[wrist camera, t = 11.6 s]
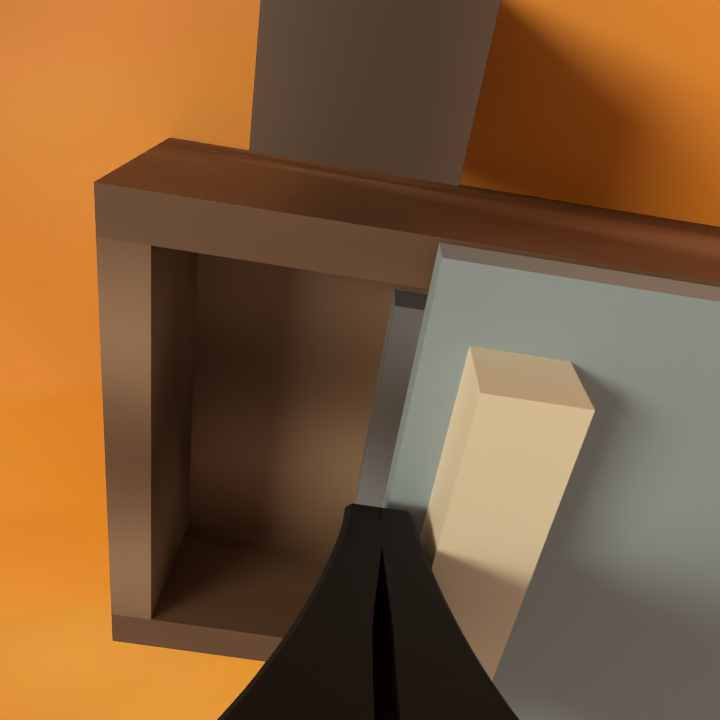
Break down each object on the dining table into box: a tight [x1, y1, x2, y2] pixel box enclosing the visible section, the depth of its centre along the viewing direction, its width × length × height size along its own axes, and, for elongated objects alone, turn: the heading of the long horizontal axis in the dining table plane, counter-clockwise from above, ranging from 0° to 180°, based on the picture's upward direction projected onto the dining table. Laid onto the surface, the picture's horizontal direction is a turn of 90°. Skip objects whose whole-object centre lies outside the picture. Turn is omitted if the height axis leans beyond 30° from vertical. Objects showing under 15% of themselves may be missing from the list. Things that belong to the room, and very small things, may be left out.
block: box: [249, 0, 501, 186], centre depth 11 cm, size 3×3×6 cm
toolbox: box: [94, 138, 720, 661], centre depth 17 cm, size 12×15×4 cm
